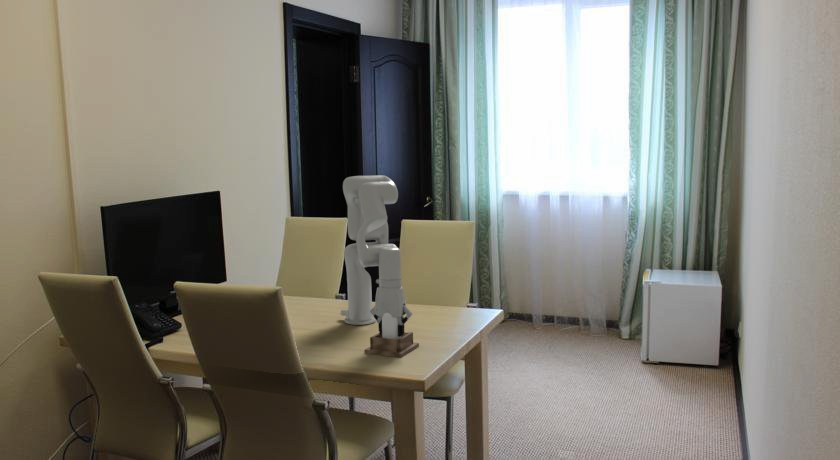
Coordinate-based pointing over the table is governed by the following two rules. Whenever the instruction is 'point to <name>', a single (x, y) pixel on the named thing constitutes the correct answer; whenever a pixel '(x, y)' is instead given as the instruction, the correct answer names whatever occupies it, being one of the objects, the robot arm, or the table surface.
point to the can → (389, 327)
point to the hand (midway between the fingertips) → (391, 334)
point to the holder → (392, 345)
